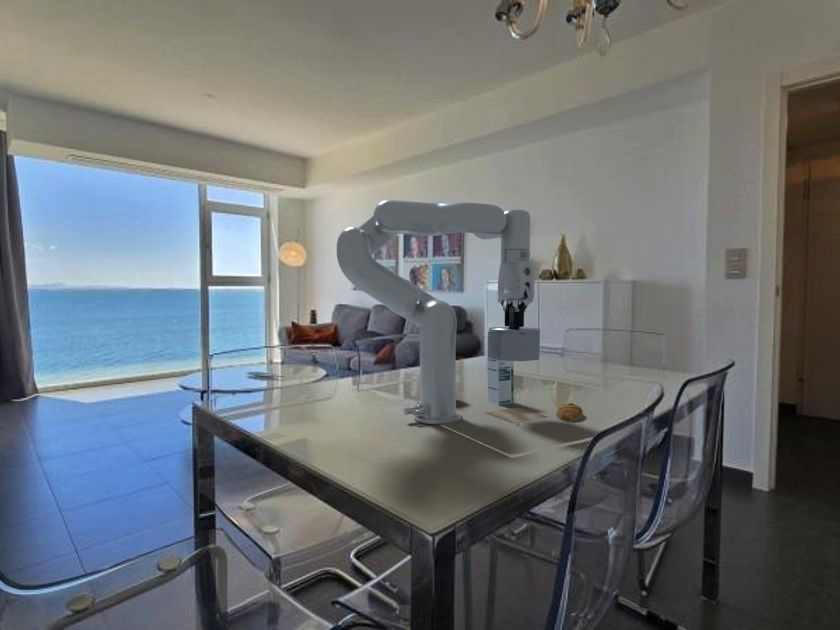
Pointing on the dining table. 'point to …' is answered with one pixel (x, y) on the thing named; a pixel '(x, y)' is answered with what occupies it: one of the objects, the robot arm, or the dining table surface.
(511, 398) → the syrup box
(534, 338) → the grey round part
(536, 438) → the dining table surface
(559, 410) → the pastry
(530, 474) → the dining table surface
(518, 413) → the wooden board
